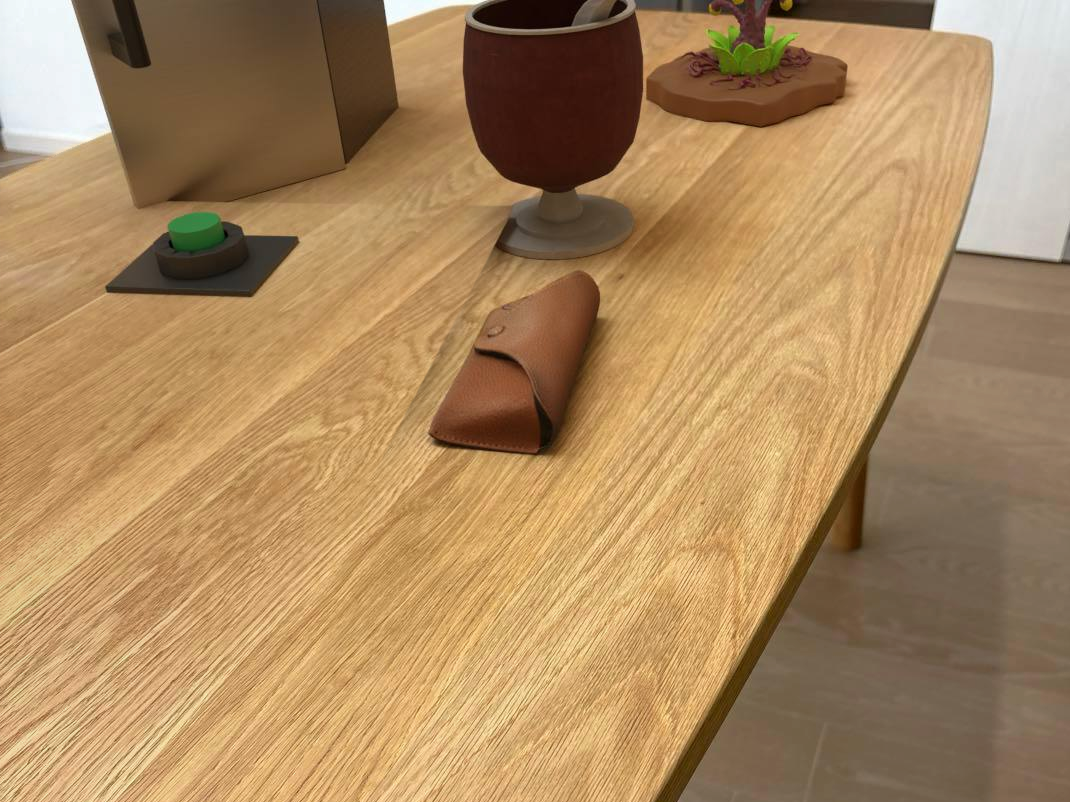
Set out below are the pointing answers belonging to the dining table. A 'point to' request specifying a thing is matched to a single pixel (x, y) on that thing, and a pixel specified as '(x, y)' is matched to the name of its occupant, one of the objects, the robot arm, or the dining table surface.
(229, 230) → the panel
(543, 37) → the mate gourd
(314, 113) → the dishwasher door
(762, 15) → the plant
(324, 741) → the dining table surface
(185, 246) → the button
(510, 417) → the sunglasses case
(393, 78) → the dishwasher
